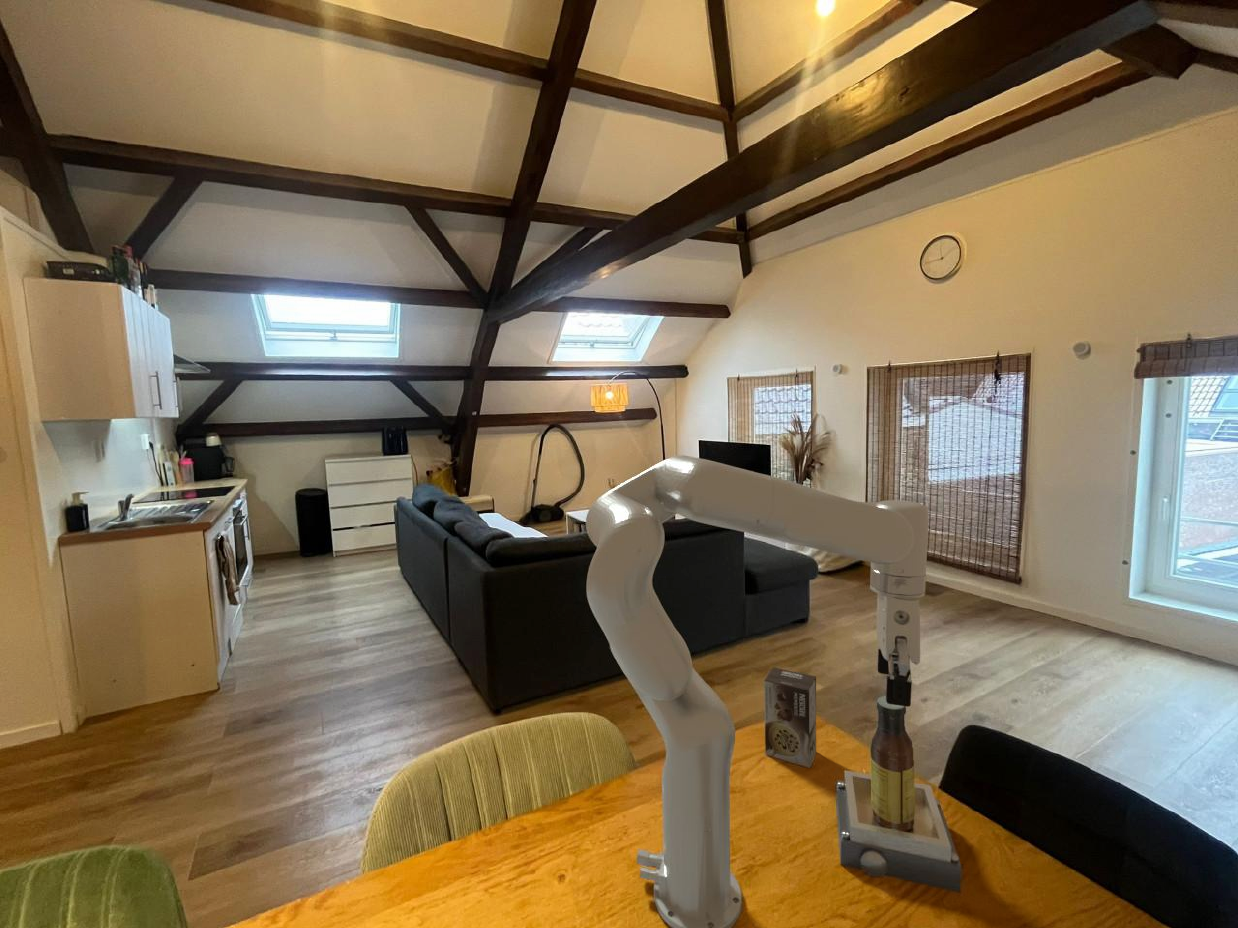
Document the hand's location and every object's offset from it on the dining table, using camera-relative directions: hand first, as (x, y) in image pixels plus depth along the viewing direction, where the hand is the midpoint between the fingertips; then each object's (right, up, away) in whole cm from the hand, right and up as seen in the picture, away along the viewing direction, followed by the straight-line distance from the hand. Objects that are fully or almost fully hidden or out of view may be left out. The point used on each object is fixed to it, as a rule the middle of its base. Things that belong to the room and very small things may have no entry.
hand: (892, 688), depth 84 cm
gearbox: (+1, -26, +3) cm, 26 cm away
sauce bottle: (+1, -22, +2) cm, 22 cm away
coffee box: (-8, -24, +26) cm, 36 cm away
